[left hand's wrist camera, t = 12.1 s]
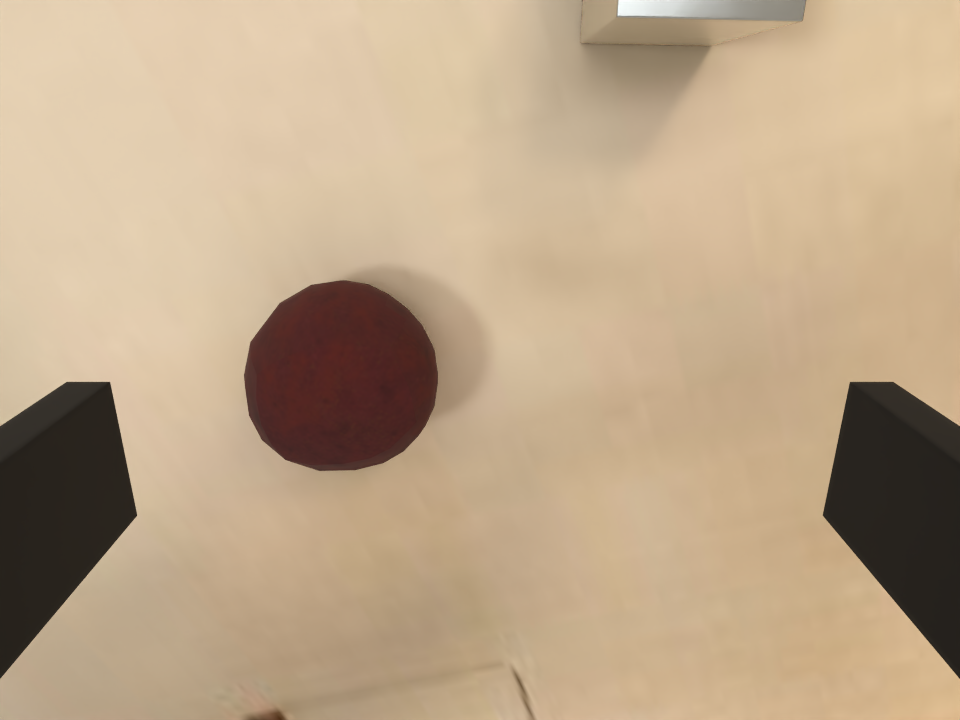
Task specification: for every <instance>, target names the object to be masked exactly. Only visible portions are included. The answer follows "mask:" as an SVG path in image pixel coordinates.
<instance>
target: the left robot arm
mask: <svg viewBox="0 0 960 720" xmlns="http://www.w3.org/2000/svg"><path fill="white" fill-rule="evenodd" d="M136 516H137V512H136V507H135V503H134V498H133V493H132V488H131V483H130V478H129V473H128V468H127V463H126V458H125V453H124V448H123V444H122V439H121V434H120V429H119V424H118V419H117V414H116V409H115V404H114V399H113V394H112V389H111V384H110V382H66V383H65V384H63V385H62V386H60V387H59V388H57V389H56V390H54V391H53V392H51V393H50V394H48V395H47V396H45V397H44V398H42V399H41V400H39V401H38V402H36V403H35V404H33V405H32V406H30V407H29V408H27V409H26V410H24V411H23V412H21V413H20V414H18V415H17V416H15V417H14V418H12V419H11V420H9V421H8V422H6V423H5V424H3V425H2V426H0V678H1V677H2V676H3V675H4V674H5V672H6V671H7V670H8V669H9V668H10V666H11V665H12V664H13V663H14V662H15V660H16V659H17V658H18V657H19V656H20V654H21V653H22V652H23V651H24V650H25V648H26V647H27V646H28V645H29V644H30V643H31V641H32V640H33V639H34V638H35V637H36V635H37V634H38V633H39V632H40V631H41V629H42V628H43V627H44V626H45V625H46V623H47V622H48V621H49V620H50V619H51V618H52V616H53V615H54V614H55V613H56V612H57V610H58V609H59V608H60V607H61V606H62V604H63V603H64V602H65V601H66V600H67V598H68V597H69V596H70V595H71V594H72V592H73V591H74V590H75V589H76V588H77V587H78V585H79V584H80V583H81V582H82V581H83V579H84V578H85V577H86V576H87V575H88V573H89V572H90V571H91V570H92V569H93V567H94V566H95V565H96V564H97V563H98V562H99V560H100V559H101V558H102V557H103V556H104V554H105V553H106V552H107V551H108V550H109V548H110V547H111V546H112V545H113V544H114V542H115V541H116V540H117V539H118V538H119V536H120V535H121V534H122V533H123V532H124V531H125V529H126V528H127V527H128V526H129V525H130V523H131V522H132V521H133V520H134V519H135V517H136ZM823 516H824V517H825V519H826V520H827V521H828V522H829V523H830V525H831V526H832V527H833V528H834V529H835V531H836V532H837V533H838V534H839V535H840V536H841V538H842V539H843V540H844V541H845V542H846V544H847V545H848V546H849V547H850V548H851V550H852V551H853V552H854V553H855V554H856V556H857V557H858V558H859V559H860V560H861V562H862V563H863V564H864V565H865V566H866V567H867V569H868V570H869V571H870V572H871V573H872V575H873V576H874V577H875V578H876V579H877V581H878V582H879V583H880V584H881V585H882V587H883V588H884V589H885V590H886V591H887V592H888V594H889V595H890V596H891V597H892V598H893V600H894V601H895V602H896V603H897V604H898V606H899V607H900V608H901V609H902V610H903V612H904V613H905V614H906V615H907V616H908V618H909V619H910V620H911V621H912V622H913V623H914V625H915V626H916V627H917V628H918V629H919V631H920V632H921V633H922V634H923V635H924V637H925V638H926V639H927V640H928V641H929V643H930V644H931V645H932V646H933V647H934V648H935V650H936V651H937V652H938V653H939V654H940V656H941V657H942V658H943V659H944V660H945V662H946V663H947V664H948V665H949V666H950V668H951V669H952V670H953V671H954V672H955V674H956V675H957V676H958V677H959V678H960V426H958V425H957V424H955V423H954V422H952V421H951V420H949V419H948V418H946V417H945V416H943V415H942V414H940V413H939V412H937V411H936V410H934V409H933V408H931V407H930V406H928V405H927V404H925V403H924V402H922V401H921V400H919V399H918V398H916V397H915V396H913V395H912V394H910V393H909V392H907V391H906V390H904V389H903V388H901V387H900V386H898V385H897V384H895V383H894V382H850V384H849V389H848V394H847V399H846V404H845V409H844V414H843V419H842V424H841V429H840V434H839V439H838V444H837V448H836V453H835V458H834V463H833V468H832V473H831V478H830V483H829V488H828V493H827V498H826V503H825V507H824V512H823Z"/></svg>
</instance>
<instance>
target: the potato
mask: <svg viewBox="0 0 960 720" xmlns="http://www.w3.org/2000/svg"><path fill="white" fill-rule="evenodd" d="M244 379H245V389H246V396H247V403H248V410H249V416H250V418H251V420H252V422H253V424H254V426H255V427H256V429H257V431H258V433H259V435H260V437H261V439H262V440H263V441H264V442H265V443H266V444H267V445H269V446H270V447H271V448H272V449H273V450H275V451H276V452H277V453H278V454H279V455H280V456H282V457H283V458H284V459H285V460H288V461H291V462H294V463H297V464H300V465H303V466H306V467H309V468H312V469H315V470H319V471H331V470H357V469H361V468H365V467H369V466H373V465H377V464H381V463H384V462H386V461H388V460H389V459H391V458H393V457H394V456H396V455H398V454H400V453H401V452H403V451H404V450H405V449H406V448H407V447H408V446H409V445H410V444H411V443H412V442H413V441H414V440H415V439H416V438H417V437H418V435H419V434H420V433H421V431H422V430H423V428H424V427H425V426H426V423H427V421H428V419H429V417H430V414H431V412H432V410H433V408H434V405H435V398H436V391H437V384H438V372H437V365H436V358H435V351H434V348H433V346H432V343H431V342H430V340H429V338H428V336H427V334H426V332H425V330H424V328H423V326H422V325H421V323H420V322H419V321H418V320H417V319H416V318H415V317H414V316H413V314H412V313H411V312H410V311H409V310H408V309H407V308H406V307H405V306H403V305H402V304H401V303H399V302H398V301H397V300H395V299H394V298H393V297H391V296H390V295H389V294H387V293H385V292H383V291H381V290H379V289H377V288H375V287H373V286H371V285H368V284H363V283H357V282H351V281H335V282H328V283H322V284H315V285H310V286H309V287H307V288H305V289H303V290H302V291H300V292H298V293H297V294H295V295H293V296H291V297H290V298H288V299H286V300H284V301H283V302H281V303H280V304H279V305H278V306H277V308H276V309H275V310H274V312H273V313H272V314H271V316H270V317H269V318H268V320H267V321H266V322H265V324H264V325H263V326H262V327H261V329H260V330H259V331H258V333H257V334H256V335H255V337H254V338H253V340H252V341H251V342H250V348H249V353H248V358H247V363H246V368H245V374H244Z"/></svg>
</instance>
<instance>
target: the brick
mask: <svg viewBox="0 0 960 720" xmlns="http://www.w3.org/2000/svg"><path fill="white" fill-rule="evenodd" d="M805 4H806V0H583V4H582V19H581V35H580V43H594V44H642V45H691V46H713V45H717V44H720V43H724V42H728V41H731V40H735V39H739V38H742V37H746V36H750V35H754V34H757V33H761V32H765V31H768V30H772V29H776V28H779V27H783V26H787V25H790V24H794V23H798V22H801V21H802V20H803V16H804V10H805Z"/></svg>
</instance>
